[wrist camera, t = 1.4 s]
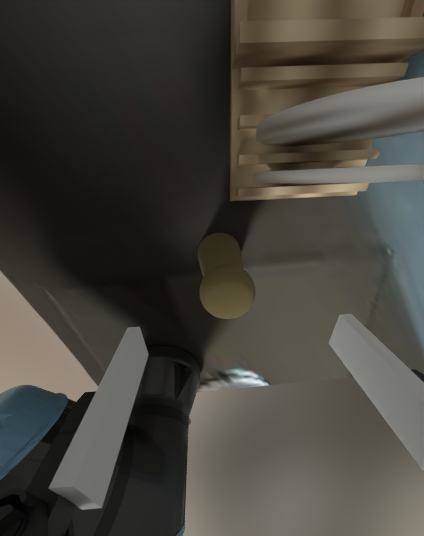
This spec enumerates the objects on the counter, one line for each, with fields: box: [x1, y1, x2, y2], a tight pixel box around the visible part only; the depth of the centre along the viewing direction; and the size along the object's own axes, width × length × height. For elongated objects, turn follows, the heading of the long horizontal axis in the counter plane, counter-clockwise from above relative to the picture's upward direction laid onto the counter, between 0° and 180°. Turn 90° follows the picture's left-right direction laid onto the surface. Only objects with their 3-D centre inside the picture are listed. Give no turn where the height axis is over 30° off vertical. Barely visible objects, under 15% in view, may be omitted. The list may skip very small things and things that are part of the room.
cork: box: [197, 233, 255, 319], centre depth 20 cm, size 6×6×11 cm
